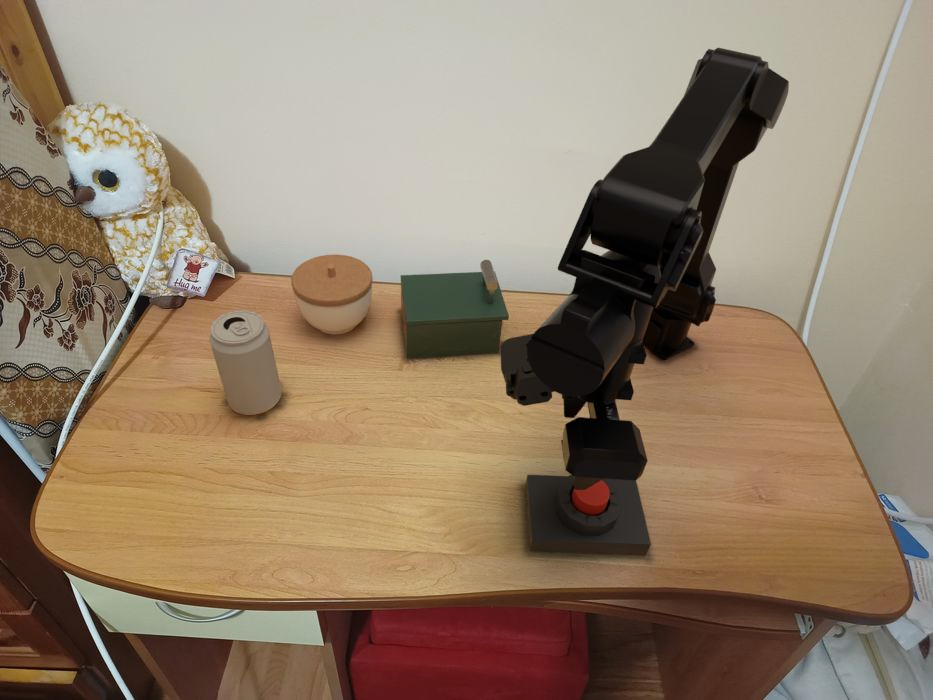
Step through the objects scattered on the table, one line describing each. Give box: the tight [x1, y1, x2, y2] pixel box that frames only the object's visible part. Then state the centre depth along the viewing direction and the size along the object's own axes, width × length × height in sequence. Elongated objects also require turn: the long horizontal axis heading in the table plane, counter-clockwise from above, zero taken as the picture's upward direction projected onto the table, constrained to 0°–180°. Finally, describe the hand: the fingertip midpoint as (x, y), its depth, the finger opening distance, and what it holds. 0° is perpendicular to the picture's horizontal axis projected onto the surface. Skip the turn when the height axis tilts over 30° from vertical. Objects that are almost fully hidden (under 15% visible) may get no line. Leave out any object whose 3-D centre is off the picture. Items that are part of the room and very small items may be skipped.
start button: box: [572, 480, 610, 515], centre depth 64 cm, size 4×4×2 cm
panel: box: [524, 474, 652, 557], centre depth 66 cm, size 12×8×4 cm, turn 89°
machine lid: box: [400, 259, 510, 325], centre depth 83 cm, size 13×10×4 cm
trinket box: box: [290, 254, 374, 335], centre depth 86 cm, size 11×11×9 cm
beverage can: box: [209, 309, 282, 416], centre depth 73 cm, size 6×6×12 cm
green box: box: [400, 285, 503, 360], centre depth 87 cm, size 13×10×6 cm
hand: (573, 450), depth 61 cm, fingers open, 9 cm apart
